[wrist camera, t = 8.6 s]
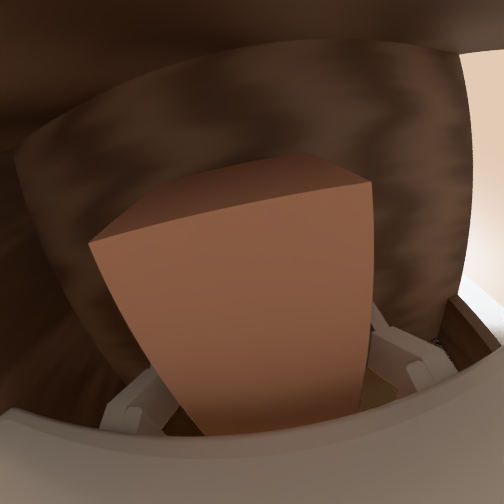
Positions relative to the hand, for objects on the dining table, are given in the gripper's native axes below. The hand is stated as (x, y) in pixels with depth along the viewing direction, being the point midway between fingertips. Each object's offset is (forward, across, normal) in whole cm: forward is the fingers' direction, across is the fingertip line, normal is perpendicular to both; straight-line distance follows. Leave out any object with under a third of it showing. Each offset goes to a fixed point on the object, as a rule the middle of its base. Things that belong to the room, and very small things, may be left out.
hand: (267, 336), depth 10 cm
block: (-1, 0, -8) cm, 8 cm away
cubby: (-1, 0, -9) cm, 9 cm away
